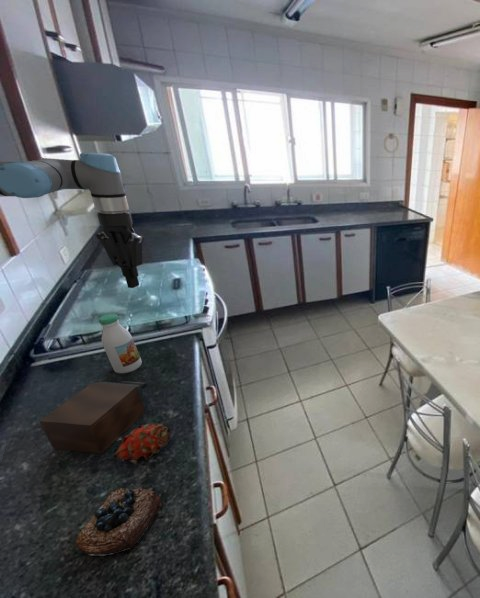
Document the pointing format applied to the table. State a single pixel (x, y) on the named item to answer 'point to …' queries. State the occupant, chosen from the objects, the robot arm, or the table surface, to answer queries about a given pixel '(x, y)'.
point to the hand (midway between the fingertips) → (133, 286)
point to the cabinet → (93, 417)
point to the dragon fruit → (143, 442)
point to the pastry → (119, 521)
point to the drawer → (138, 384)
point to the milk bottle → (119, 345)
